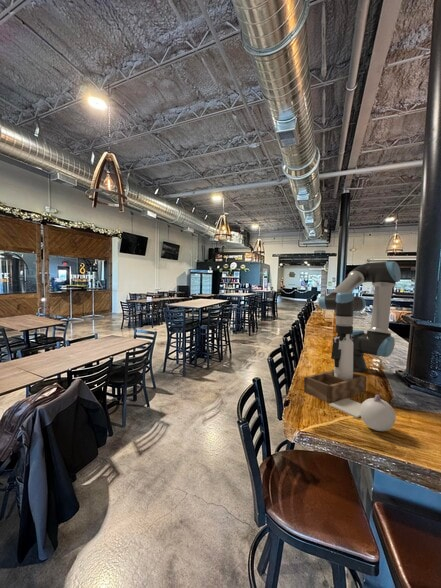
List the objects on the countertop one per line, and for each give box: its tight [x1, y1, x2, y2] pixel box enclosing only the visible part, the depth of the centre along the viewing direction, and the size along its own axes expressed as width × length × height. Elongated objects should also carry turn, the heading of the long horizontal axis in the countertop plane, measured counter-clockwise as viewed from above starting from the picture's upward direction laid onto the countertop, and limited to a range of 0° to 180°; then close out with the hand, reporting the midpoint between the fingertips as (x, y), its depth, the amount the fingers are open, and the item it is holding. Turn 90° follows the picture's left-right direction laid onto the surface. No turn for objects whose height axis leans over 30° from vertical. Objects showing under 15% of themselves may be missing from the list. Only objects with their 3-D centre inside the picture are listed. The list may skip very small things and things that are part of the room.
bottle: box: [333, 334, 354, 380], centre depth 125 cm, size 8×8×28 cm
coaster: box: [328, 397, 362, 419], centre depth 106 cm, size 12×12×1 cm
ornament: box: [360, 394, 397, 432], centre depth 90 cm, size 10×10×12 cm
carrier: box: [303, 369, 367, 404], centre depth 122 cm, size 26×14×7 cm, turn 120°
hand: (343, 372), depth 125 cm, fingers closed on bottle, 8 cm apart
